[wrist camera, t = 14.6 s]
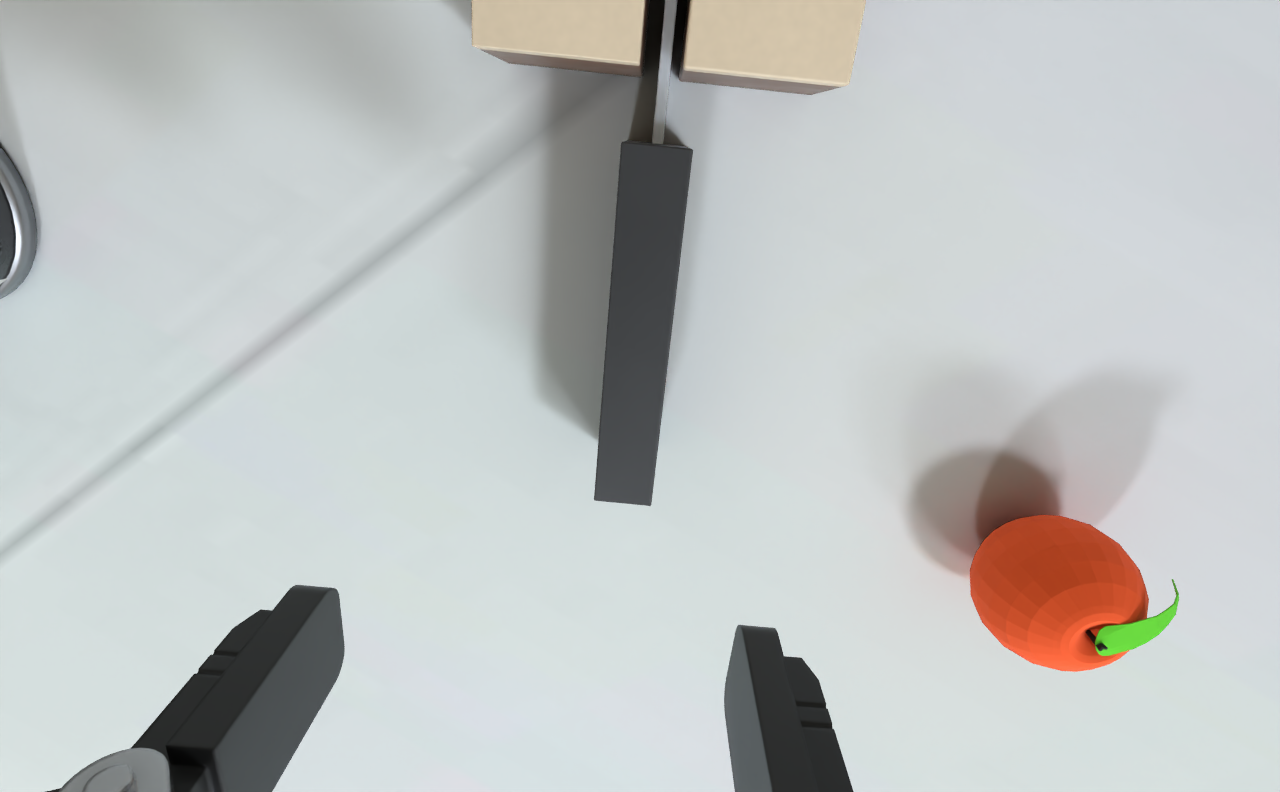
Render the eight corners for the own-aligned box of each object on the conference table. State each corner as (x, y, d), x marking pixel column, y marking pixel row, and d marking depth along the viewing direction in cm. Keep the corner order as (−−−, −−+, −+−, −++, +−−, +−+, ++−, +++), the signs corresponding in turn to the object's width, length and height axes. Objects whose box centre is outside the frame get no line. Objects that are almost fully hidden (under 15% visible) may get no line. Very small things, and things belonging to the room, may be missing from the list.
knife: (652, 451, 31) (650, 506, 26) (603, 446, 31) (593, 500, 26) (718, -129, 22) (733, -198, 17) (649, -136, 22) (647, -208, 17)
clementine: (1101, 464, 31) (1223, 554, 24) (1111, 574, 33) (1224, 683, 26) (934, 509, 32) (1006, 607, 25) (956, 612, 34) (1027, 725, 28)
